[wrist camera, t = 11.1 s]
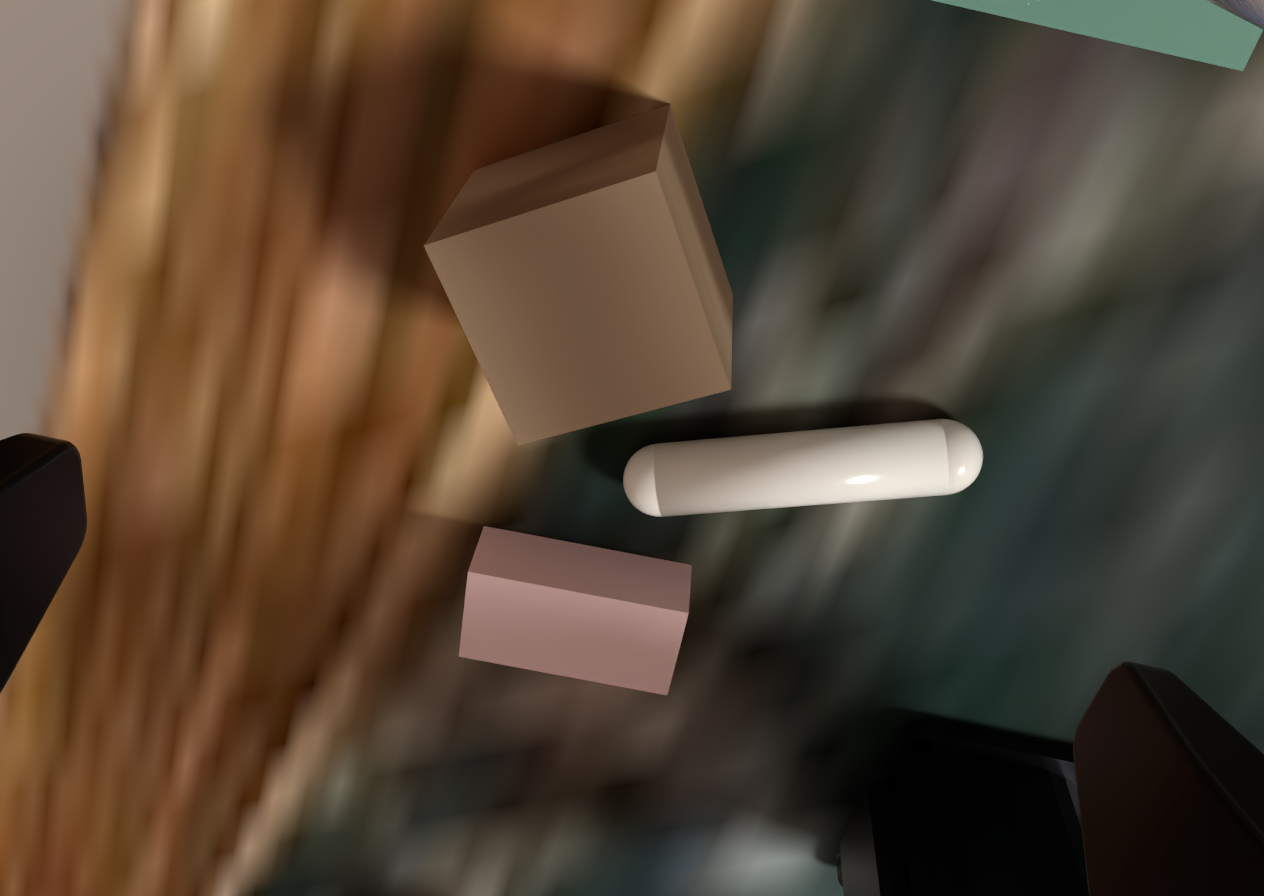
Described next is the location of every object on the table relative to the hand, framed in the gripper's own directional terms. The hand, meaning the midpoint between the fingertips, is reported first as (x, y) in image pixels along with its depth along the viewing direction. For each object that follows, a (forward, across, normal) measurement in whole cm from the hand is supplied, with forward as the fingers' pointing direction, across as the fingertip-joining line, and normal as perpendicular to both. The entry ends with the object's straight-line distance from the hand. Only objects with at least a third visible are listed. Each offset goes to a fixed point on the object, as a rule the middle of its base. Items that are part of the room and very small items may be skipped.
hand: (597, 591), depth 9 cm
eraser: (+13, 0, +11) cm, 17 cm away
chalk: (+13, -4, +6) cm, 15 cm away
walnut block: (+13, +1, +2) cm, 13 cm away
